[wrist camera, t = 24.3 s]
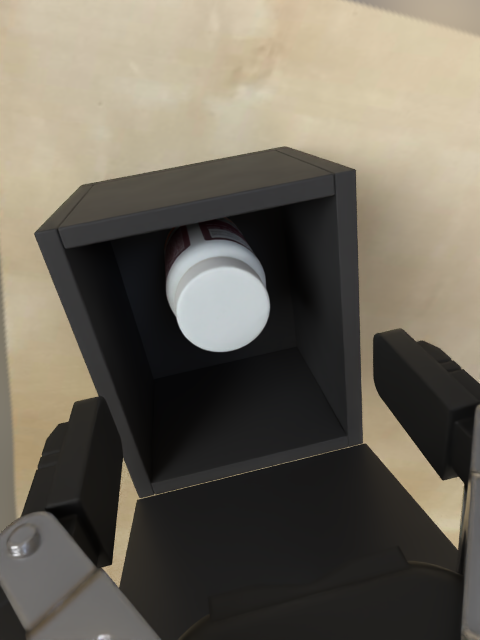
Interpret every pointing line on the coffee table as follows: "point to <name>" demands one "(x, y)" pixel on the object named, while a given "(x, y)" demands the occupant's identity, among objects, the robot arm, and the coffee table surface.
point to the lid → (269, 533)
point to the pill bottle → (215, 285)
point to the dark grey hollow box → (207, 366)
